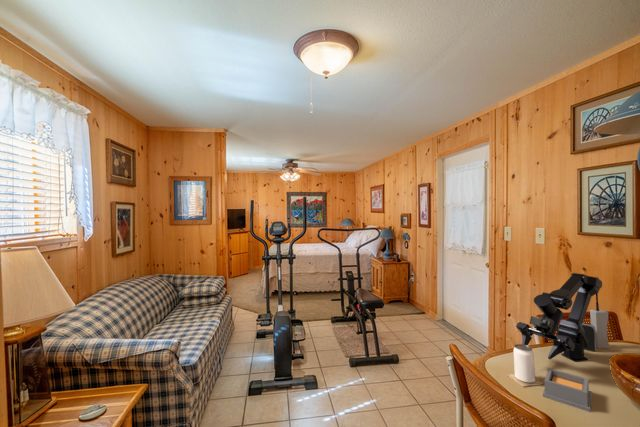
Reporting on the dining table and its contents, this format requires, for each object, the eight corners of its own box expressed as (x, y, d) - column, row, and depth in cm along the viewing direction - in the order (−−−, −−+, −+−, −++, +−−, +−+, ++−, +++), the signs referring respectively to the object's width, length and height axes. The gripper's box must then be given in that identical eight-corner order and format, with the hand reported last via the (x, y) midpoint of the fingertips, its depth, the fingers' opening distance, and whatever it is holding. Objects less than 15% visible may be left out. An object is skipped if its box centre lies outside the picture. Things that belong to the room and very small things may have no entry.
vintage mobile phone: (610, 348, 130) (607, 294, 131) (597, 348, 131) (594, 293, 132) (604, 345, 134) (601, 291, 134) (591, 344, 135) (588, 291, 135)
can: (513, 372, 114) (511, 342, 114) (532, 375, 111) (530, 344, 111) (517, 381, 108) (515, 349, 108) (537, 384, 105) (536, 352, 105)
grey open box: (547, 381, 108) (546, 366, 108) (591, 394, 99) (590, 378, 99) (542, 396, 99) (542, 380, 99) (590, 412, 91) (589, 394, 91)
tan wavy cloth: (524, 373, 114) (524, 372, 114) (542, 384, 106) (542, 383, 106) (506, 375, 113) (506, 374, 113) (523, 387, 105) (523, 386, 105)
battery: (597, 349, 130) (595, 324, 130) (595, 352, 128) (594, 326, 128) (577, 344, 136) (575, 320, 136) (575, 347, 133) (573, 322, 133)
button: (553, 382, 105) (553, 376, 105) (583, 391, 99) (582, 384, 99) (550, 392, 99) (550, 386, 99) (581, 402, 94) (581, 395, 94)
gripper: (517, 303, 124) (502, 333, 119) (569, 315, 107) (553, 352, 102) (529, 317, 127) (515, 348, 122) (581, 332, 110) (567, 368, 105)
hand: (535, 353), depth 113 cm, fingers open, 9 cm apart
